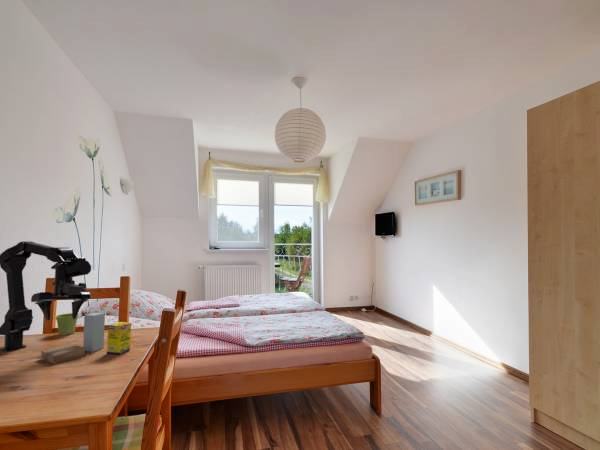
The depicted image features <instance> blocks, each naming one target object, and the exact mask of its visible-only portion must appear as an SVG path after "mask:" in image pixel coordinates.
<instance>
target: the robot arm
mask: <svg viewBox="0 0 600 450" xmlns="http://www.w3.org/2000/svg"><path fill="white" fill-rule="evenodd" d="M32 254H33V255H38V256H43V257H45V258H46V259H47V260H49V261H51V262H52V263H55V264H53V265H52V266H51V268H50V269H51V270H54V271H55V272H54V282H52V286H53V292H50V291H48V292H46V291H44V292H43V291H41V292H36V293H33V294H32V295H31V299H30V302H31V303H34V304H35V305H38V307H39V309H40V310H41V312H42V314H43V316H44V318H45V320H46V321H47V322H49V321H50V320H51V306H52V303H53V300H72V301H71V313H72V317H73V319H75V318H76V316H77V314H79V312H80V310H81V307H82V306H83V304H84V303H87V302H88V300H91V299H92V295H91V293H90V292H89V291H88V292H86V290H87V284H86V283H85V282H79V283H78V284H75V283H76V281H75V280H73V279H74V278H75V277H80V276H86V275H89V274H90V273H91V271H92V265H91V263H90V262H89V261H88V260H87V259H86V257H79V256H78V255H77V254H76V252H74V249H73V248H71V247H58V246H57V247H55V246H50V245H46V244H41V243H37V242H34V241H29V240H28V241H27V240H26V241H20V242H18V243H16V244H15V245H13V246H11V247H9V248H7V249H5V250H4V251H2V253H0V268H1V269H2V271H3V272H4V273H5V274H6V285H7V297H8V298H7V300H8V310H7V312H6V313H5V314H4V322H3V323H2V324H1V326H0V336H4V345H3V346H1V347H0V350H3V351H5V352H10V351H14V350H17V349H22V348H25V347H26V348H27V344H24V332H26V331H29V330H30V328H31V325H32V323H33V319H34V316H33V310H32V308H28V307H27V306H26V301H25V289H24V277H23V272H24V271H23V270H24V269H25V267H26V265H27V261H28V259H29V258H30V257H31V256H32Z"/></svg>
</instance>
